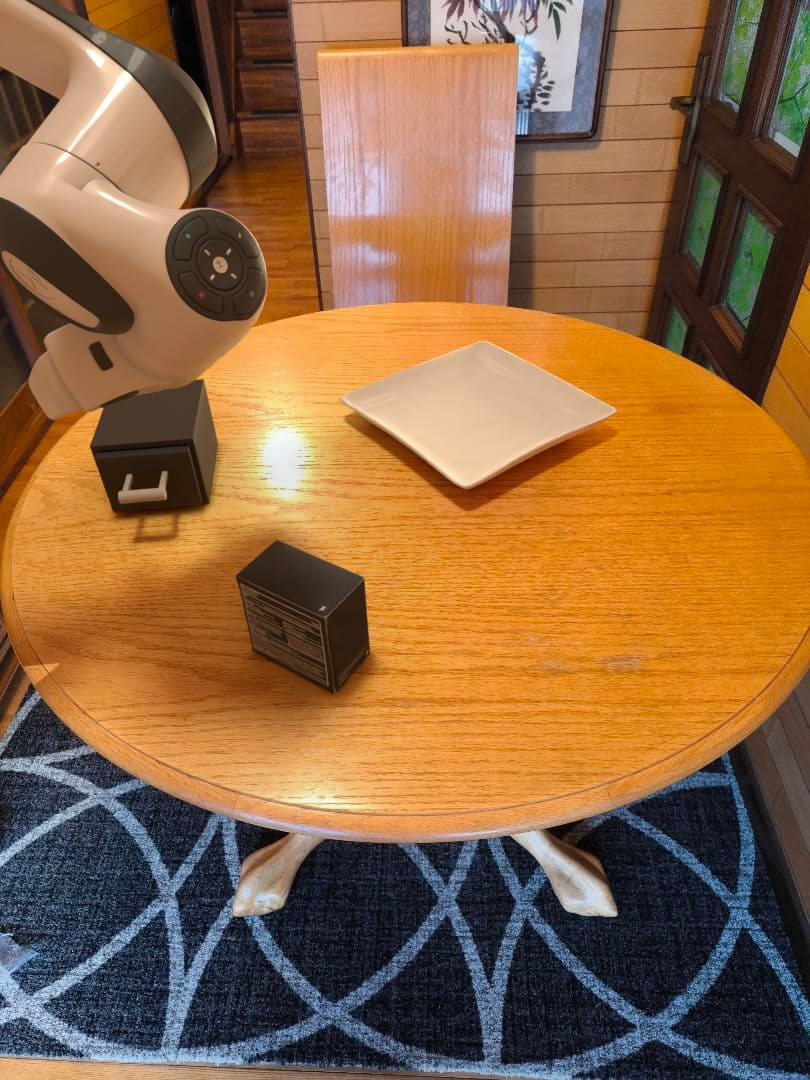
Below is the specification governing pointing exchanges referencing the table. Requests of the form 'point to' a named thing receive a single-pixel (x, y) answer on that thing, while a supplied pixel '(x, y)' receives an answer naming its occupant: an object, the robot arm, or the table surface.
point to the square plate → (477, 411)
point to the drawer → (150, 477)
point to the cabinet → (163, 427)
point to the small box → (305, 614)
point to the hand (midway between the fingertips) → (132, 370)
